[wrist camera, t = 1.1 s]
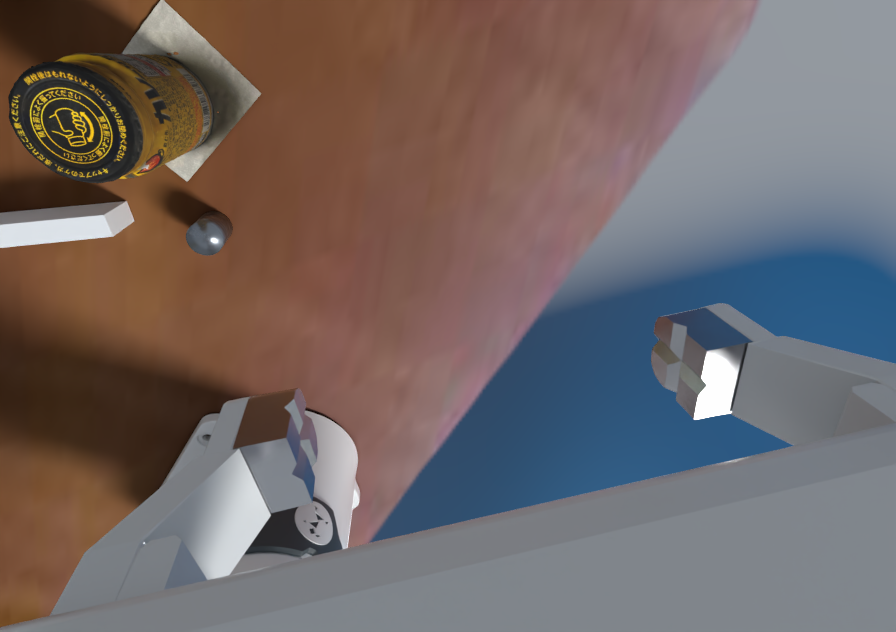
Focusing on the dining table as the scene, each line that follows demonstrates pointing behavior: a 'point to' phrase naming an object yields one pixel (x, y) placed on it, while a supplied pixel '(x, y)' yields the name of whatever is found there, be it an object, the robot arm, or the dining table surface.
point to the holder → (63, 223)
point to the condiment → (131, 105)
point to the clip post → (209, 233)
